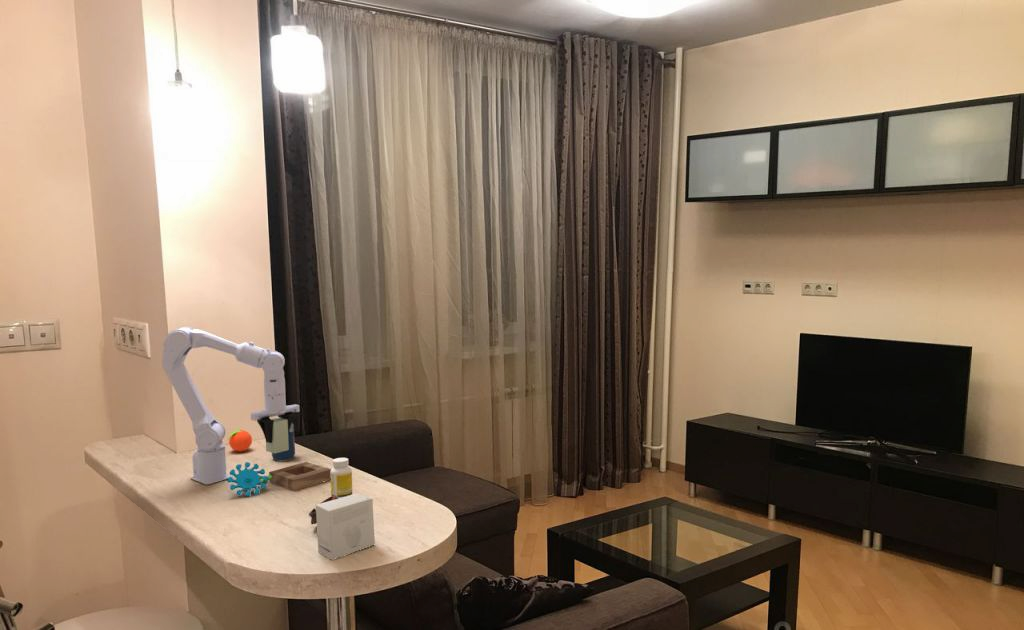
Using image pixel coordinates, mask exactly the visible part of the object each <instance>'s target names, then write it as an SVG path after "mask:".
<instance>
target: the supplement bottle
mask: <svg viewBox="0 0 1024 630" xmlns="http://www.w3.org/2000/svg"><path fill="white" fill-rule="evenodd" d="M332 466H333V467H332V468H330V469H331V471H330V475H331V480H330V495H331V496H334V495H336V496H337V498H338V499H339V498H342V497H344V496H346V495H353V473H352V472H353V471H352V468H351V467H350V466H349V458H347V457H337V458H334V459H332ZM331 496H330V497H331Z"/></svg>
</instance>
